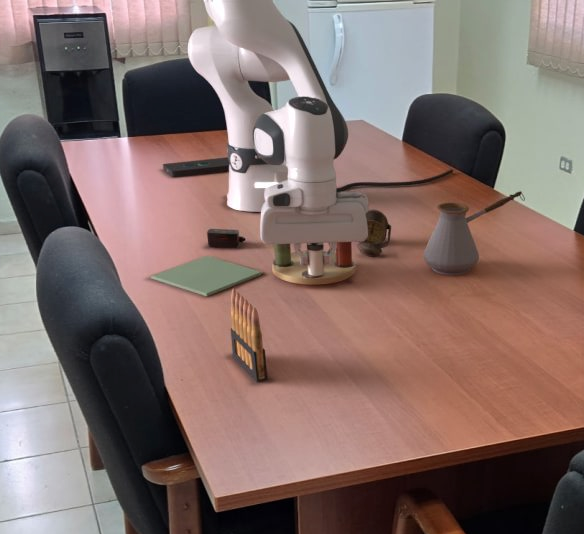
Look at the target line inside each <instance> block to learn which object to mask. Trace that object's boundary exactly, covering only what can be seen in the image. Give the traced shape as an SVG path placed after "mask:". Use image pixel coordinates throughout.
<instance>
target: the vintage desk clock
mask: <svg viewBox="0 0 584 534" xmlns="http://www.w3.org/2000/svg"><path fill="white" fill-rule="evenodd" d="M365 215H366V220H367V227H368V237H367V238H366V240H365V241H362V242H358V245H357V249H358V251H359V252H360V253H361V254H362V255H364V256H367V257H377V256H381V255H382V253H383V250H382V249H384V248H386V247H387V246H389V245H390V241H391V235H392V225H391V224H389V221H388V218H387V216H386V215H385V214H384V213H383V212H382V211H380V210H378V209H368V212H367V213H366V214H365ZM386 238H387V240H386ZM385 240H386V241H385ZM384 241H385V242H384Z"/></svg>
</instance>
